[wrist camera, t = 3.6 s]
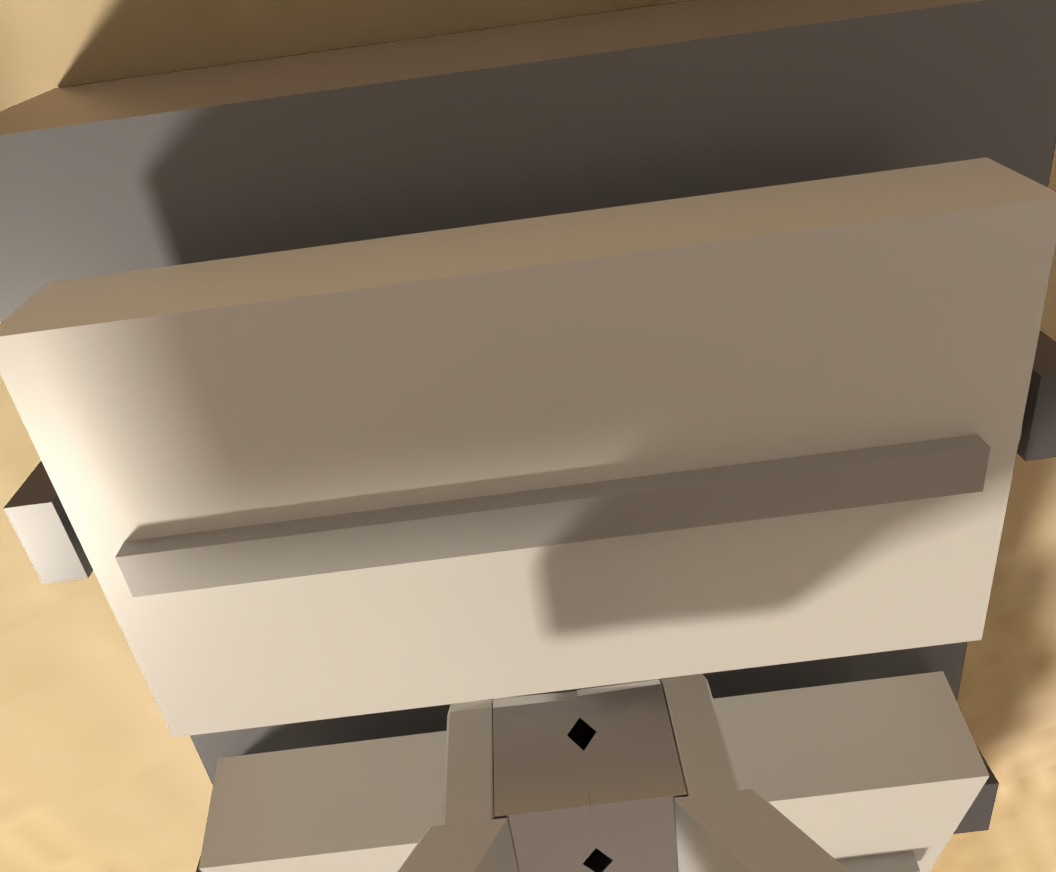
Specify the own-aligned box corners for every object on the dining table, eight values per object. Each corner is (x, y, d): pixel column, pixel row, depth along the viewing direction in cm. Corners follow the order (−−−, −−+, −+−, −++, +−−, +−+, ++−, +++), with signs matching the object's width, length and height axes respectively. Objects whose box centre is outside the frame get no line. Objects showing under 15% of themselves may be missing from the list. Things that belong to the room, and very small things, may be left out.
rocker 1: (32, 283, 11) (-51, 353, 9) (1004, 155, 10) (1102, 200, 9) (191, 655, 14) (151, 757, 12) (943, 562, 13) (1007, 654, 12)
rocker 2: (205, 760, 14) (180, 893, 12) (956, 669, 13) (1013, 795, 12) (313, 889, 18) (303, 998, 17) (884, 823, 18) (920, 928, 16)
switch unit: (54, 88, 14) (-199, 196, 9) (954, -36, 14) (1247, -1, 9) (370, 939, 26) (342, 1199, 21) (853, 883, 26) (949, 1133, 21)
